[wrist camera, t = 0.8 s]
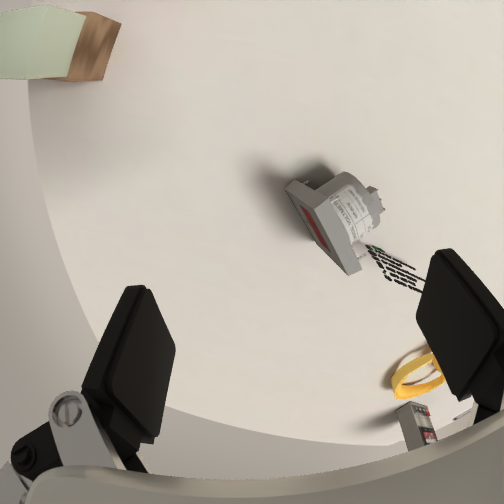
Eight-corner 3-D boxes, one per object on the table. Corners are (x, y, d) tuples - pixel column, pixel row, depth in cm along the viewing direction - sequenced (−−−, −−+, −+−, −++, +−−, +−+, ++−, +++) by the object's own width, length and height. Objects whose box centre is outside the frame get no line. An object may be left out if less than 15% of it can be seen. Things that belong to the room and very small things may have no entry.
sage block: (41, 17, 16) (1, 12, 10) (86, 16, 17) (48, 4, 11) (24, 73, 19) (-17, 78, 13) (66, 76, 21) (25, 79, 15)
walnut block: (73, 21, 22) (39, 14, 16) (121, 23, 24) (92, 11, 17) (57, 74, 26) (21, 77, 20) (102, 80, 28) (69, 81, 21)
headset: (379, 373, 59) (389, 402, 52) (452, 322, 52) (469, 350, 44) (403, 391, 66) (412, 416, 58) (465, 349, 58) (478, 373, 51)
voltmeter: (266, 222, 39) (271, 262, 30) (304, 145, 34) (323, 164, 25) (405, 279, 45) (430, 318, 36) (442, 225, 39) (476, 257, 31)
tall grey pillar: (427, 405, 74) (448, 465, 52) (413, 414, 76) (431, 473, 55) (410, 400, 69) (433, 468, 48) (395, 410, 72) (414, 477, 50)
